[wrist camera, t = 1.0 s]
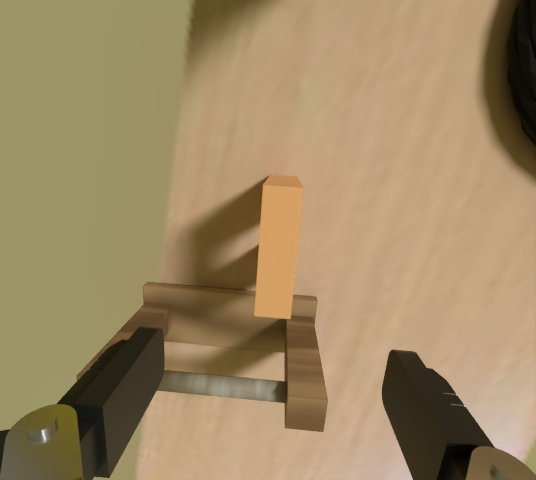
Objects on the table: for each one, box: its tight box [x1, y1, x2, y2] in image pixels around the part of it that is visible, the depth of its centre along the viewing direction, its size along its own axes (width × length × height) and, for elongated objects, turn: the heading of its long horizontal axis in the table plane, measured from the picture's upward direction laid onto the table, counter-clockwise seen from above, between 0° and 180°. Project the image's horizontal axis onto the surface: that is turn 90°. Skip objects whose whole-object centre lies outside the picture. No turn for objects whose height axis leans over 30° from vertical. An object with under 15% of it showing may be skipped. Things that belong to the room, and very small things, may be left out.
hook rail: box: [77, 282, 328, 432], centre depth 30 cm, size 7×20×14 cm, turn 86°
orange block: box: [254, 175, 304, 319], centre depth 28 cm, size 10×3×12 cm, turn 176°
